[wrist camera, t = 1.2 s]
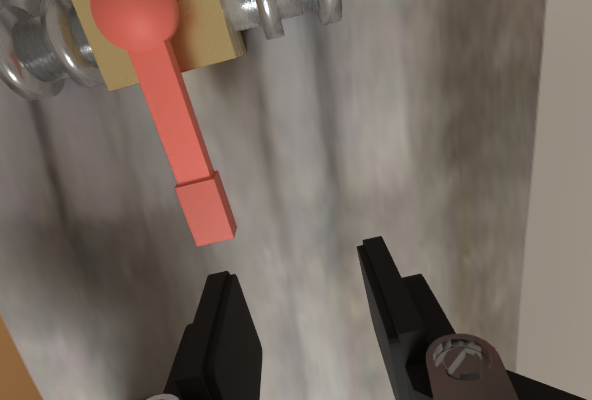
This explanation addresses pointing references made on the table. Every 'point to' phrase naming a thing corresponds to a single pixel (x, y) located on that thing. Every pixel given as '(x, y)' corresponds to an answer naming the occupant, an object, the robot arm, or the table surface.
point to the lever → (169, 108)
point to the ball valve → (115, 61)
